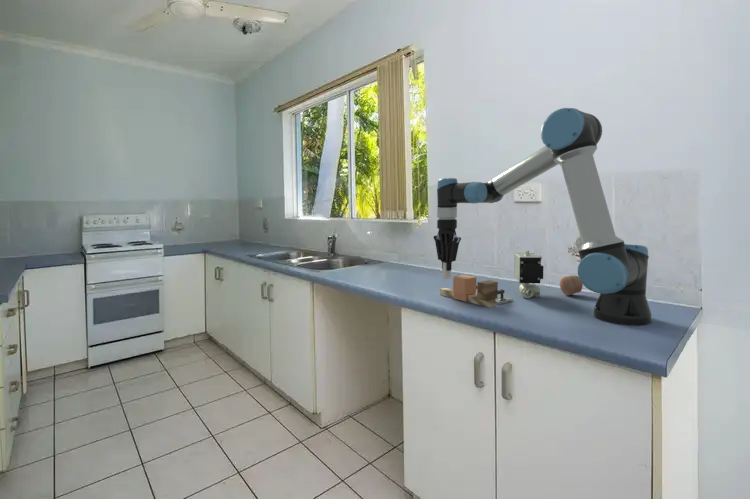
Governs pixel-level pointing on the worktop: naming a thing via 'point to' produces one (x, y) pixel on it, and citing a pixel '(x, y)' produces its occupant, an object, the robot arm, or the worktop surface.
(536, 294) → the ball valve
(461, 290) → the block
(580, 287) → the tan rounded lump
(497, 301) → the flange strip
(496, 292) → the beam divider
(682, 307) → the worktop surface
